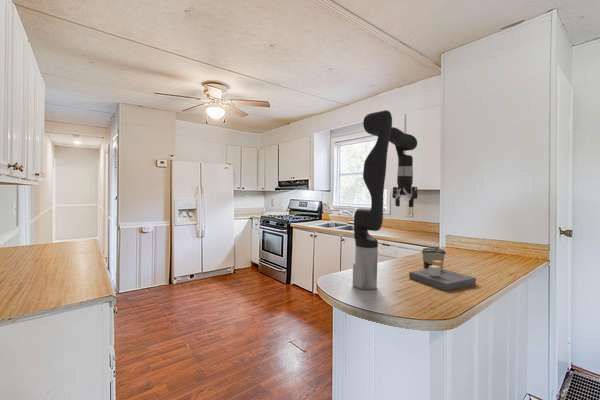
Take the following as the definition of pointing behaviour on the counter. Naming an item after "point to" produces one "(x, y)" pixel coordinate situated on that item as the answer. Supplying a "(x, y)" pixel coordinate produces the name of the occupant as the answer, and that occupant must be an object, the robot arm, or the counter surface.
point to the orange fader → (438, 263)
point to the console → (443, 279)
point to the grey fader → (434, 270)
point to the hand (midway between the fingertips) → (404, 206)
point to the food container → (432, 256)
